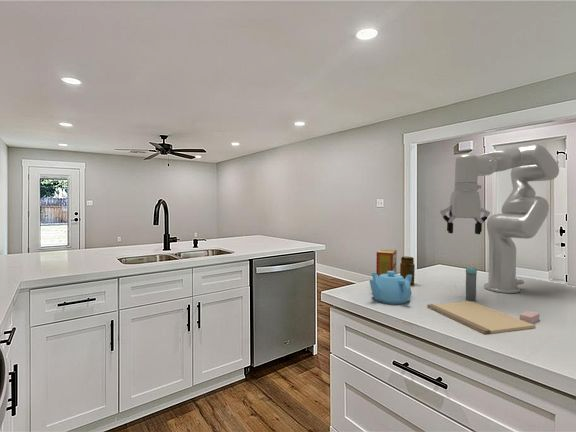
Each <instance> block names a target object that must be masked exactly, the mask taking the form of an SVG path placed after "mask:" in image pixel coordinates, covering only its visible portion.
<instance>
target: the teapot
mask: <svg viewBox="0 0 576 432" xmlns="http://www.w3.org/2000/svg"><path fill="white" fill-rule="evenodd" d="M387 273H388V274H381V275H380V276H378V275H377V273H376V272H372V273H371V275H372V279H369V284H370V289H371V295H372V297H373V298H374V299H375V300H376V301H377V302H380V303H382V302H383V303H384V304H387V303H388V304H387V305H402V304H406V303H407V302H409V300H410V299H411V295H412V289H411V288H412V287H411V286H410V284H411V279H412V275H407V276H406V278H405V279H404V278H403V277H402V276H401V275H400V274H397V273H396V274H395V272H394V271H387Z"/></svg>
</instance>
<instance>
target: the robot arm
mask: <svg viewBox="0 0 576 432" xmlns="http://www.w3.org/2000/svg"><path fill="white" fill-rule="evenodd" d="M454 162H455V163H454V164H455V165H454V166H455V167H454V191H452V192H451V195H450V199H449V206H448V207H446V208H443V209H442V210H441V209H440V211H439V213H440V215H441V218H442V219H443V220H444V221H445V222H446V225H447V226H446V231H447V233H448V234H454V222H453V221H454V220H455V219H474V221H475V223H474V234H475V235H481V232H482V231H483V229H482V227H483V224H484V222H485V221H486V220H487V221H486V229H487V234H488V279H487V281H488V283H484V284H483V288H484V289H485V290H488V291H492V292H494V293H495V292H496V293H503V294H504V293H505V294H518V293H520V292H521V289H520V287H518V286H519V285H524V284H525V280H523V279H517V277H516V276H517V274H516V273H517V246H516V244H515V242H514V241H513V238H514V239H525V240H526V239H532V238H534V237H535V236H536V235H537V234H538V232H539V230H540V229H541V227H542V225H543V224H544V222H545V220H546V219H547V217H548V215H549V210H550V206H549V205H550V204H549V202H548V200H547V199H546V198H544V197H542V196H536V191H535V189H534V188H533V186H532V185H531V184H529V182H543V181H547V182H548V181H552V180H554V179H556V178H557V177H558V175H559V173H560V167H559V164H558V162H557V161H556V159H555V158H554V157H553V155H552V154H551V153H550V152H549V150H548V149H546V147H544V146H543V145H542V144H540V143H533V144H527V145H526V144H525V145H518V146H513V147H508V148H504V149H499V150H494V151H490V152H485V153H483V154H477V155H476V154H461V155H458V156H457V157H456V158H455V161H454ZM508 170H510V178H511V185H512V189H511V190H512V191H511V192H510V194H509V196H508V197H507V198H506V200H505V201H504V202H503V205H502V206H501V213H496V214H495V213H494V214H492V215H491V211H489V210H487V209H485V208H483V207H481V196H480V192H479V191H478V190H481V188H482V185H481V184H479V183H478V177H484V176H490V175H492V174H494V173H498V172H504V171H508ZM447 213H448V216H447ZM481 214H483V216H481Z"/></svg>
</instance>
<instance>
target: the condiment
mask: <svg viewBox="0 0 576 432" xmlns="http://www.w3.org/2000/svg"><path fill="white" fill-rule="evenodd" d="M414 262H415V260H414V257H412V256H401V258H400V265H399V266H400V267H399V275H401V276H402V277H403V278H404V279H405V278H406V276H407V275H412V279H411V284H410V287H420V286H422V285H420V284H418V283H415V275H416V274H415V272H416V271H415V269H416V268H415V263H414Z"/></svg>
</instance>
